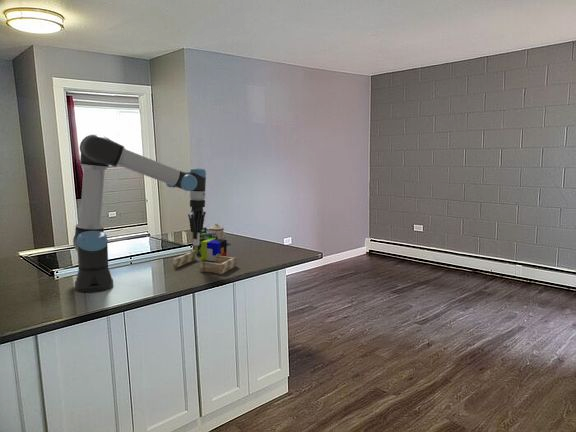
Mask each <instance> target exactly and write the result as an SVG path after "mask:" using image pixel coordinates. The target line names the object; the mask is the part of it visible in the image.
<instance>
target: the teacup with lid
mask: <svg viewBox="0 0 576 432" xmlns="http://www.w3.org/2000/svg"><path fill="white" fill-rule="evenodd" d="M224 230H225V229H224V227H223V226H221V225H219V224H218V223H215V224H214V225H213V226H210V227H209V232H210V233H212V238H214V239H223V240H226V237H227V233H226V232H225V231H224Z"/></svg>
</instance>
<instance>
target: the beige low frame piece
mask: <svg viewBox="0 0 576 432" xmlns="http://www.w3.org/2000/svg"><path fill="white" fill-rule="evenodd" d="M196 258H197V254H196V251H195V250H193V249H192V250H191V251H190V252H188V253H185V254H183V255H180V256H177V257H174V258H172V267H173V269H174V268H175V269H177V268H179V267H182V266H184V265H186V264H188V263H191V262H193V261H195V260H197V259H196ZM235 267H237V257H233V256H221V254H216V256H215V261H214V262H212V261H205V260H202V261H201V262H199V272H200V273H203V272H206V273H212V272H213V274H220V275H222V274H224V273H226V272H228V271H229V270H232V269H233V268H235Z"/></svg>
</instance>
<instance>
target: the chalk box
mask: <svg viewBox="0 0 576 432" xmlns="http://www.w3.org/2000/svg"><path fill="white" fill-rule="evenodd" d="M207 230H208V228H207V226H206V227H204V226H203V230H201V231H202V232H200V241H199V245H198V246H197V245H193V232H191V233H192V238H191V240H192V241H191V242H192V243H191V244H192V250H195V251H196V255H201V242H202V241H205V240H207V239H210V238H212V233H210V231H207Z"/></svg>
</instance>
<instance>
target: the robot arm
mask: <svg viewBox="0 0 576 432" xmlns="http://www.w3.org/2000/svg"><path fill="white" fill-rule="evenodd" d="M79 152H80V159H79V165H80V166H81V167H82V168H83V169H82V170H83V171H82V173H83V174H82V184H81V185H82V186H81V188H82V189H81V199H80V201H81V202H80V212H79V213H80V214H79V222H78V223H77V224H75V230H74V231H75V232H74V236H73V241H72V243H73V247H74V248H75V250H76V252H77V265H78V267H77V268H78V272H77V275H76V280H75V282H74V290H75V291H76V292H80V293H99V292H103V291H107V290H110V289H112V287H114V279H113V277H112V274H111V271H110V269H109V254H108V253H109V250H108V249H109V248H108V246H109V245H108V243H109V239H108V236H107V234H106V233H105V231H104V230H105V227H104V225H103V224H102V223H101V222H102V210H103V198H104V185H105V183H104V182H105V172H106V170H107V169H108V168H109V167H110V166H112V167H114V168H115V167H116V168H117V167H121V168H124V169H126V170H129V171H132V172H135V173H138V174H140V175H143V176H146V177H148V178H152V179H153V180H157V181H159V182H162V183H165V185H166V187H168V188H171V189H172V188H174V189H175V188H177V189H181V190H183V191H185V192H189V207H190V208H191V210H190V213H188V214H187V217H188V219H189V229H190V233H193V245H197V246H198V245H199V241H200V232H202V231H204V229H203V228H204V224H205V223H204V221H205V217H206V211H204V208H205V207H206V200H205V198H206V186H207V185H206V183H207V182H206V181H207V172H206V170H205V169H204V168H199V167H198V168H196V167H191V168H190V170H189V172H188V171H182V170H179V169H176V168H173V167H172V166H168V165H166V164H164V163H162V162H159V161H156V160H153V159H151V158H148V157H146V156H144V155H141V154H139V153H137V152H133V151H131V150H128V149H126V148H125V146H124V145H122V144H120V143H118V142H115V141H113V140H112V139H110V138H109V137H106V136H104V135H102V134H89V135H86V136H85V137H83V139H82V140H81V142H80V144H79ZM193 245H192V246H193Z"/></svg>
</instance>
